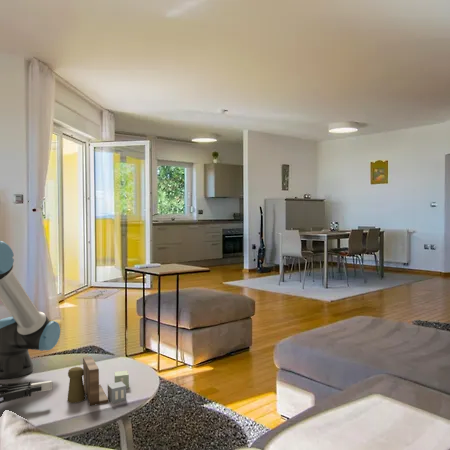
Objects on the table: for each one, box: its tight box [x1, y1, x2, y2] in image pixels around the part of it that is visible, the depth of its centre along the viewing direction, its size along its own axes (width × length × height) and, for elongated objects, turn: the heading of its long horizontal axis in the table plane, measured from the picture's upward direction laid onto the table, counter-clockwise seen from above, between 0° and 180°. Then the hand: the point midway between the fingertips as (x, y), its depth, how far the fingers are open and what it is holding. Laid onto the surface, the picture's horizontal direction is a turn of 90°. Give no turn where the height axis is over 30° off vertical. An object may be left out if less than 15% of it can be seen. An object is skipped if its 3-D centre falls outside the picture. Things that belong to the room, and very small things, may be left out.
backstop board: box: [82, 355, 109, 407], centre depth 158 cm, size 16×6×12 cm, turn 25°
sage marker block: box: [114, 370, 130, 389], centre depth 167 cm, size 5×5×5 cm
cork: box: [66, 366, 86, 404], centre depth 156 cm, size 6×6×11 cm
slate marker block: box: [107, 382, 127, 404], centre depth 155 cm, size 5×5×5 cm
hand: (51, 385), depth 152 cm, fingers closed
